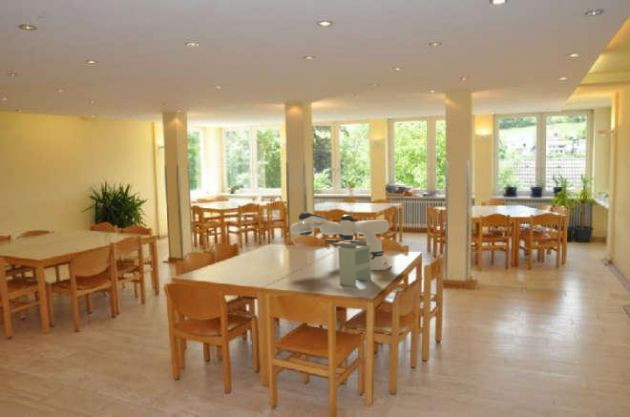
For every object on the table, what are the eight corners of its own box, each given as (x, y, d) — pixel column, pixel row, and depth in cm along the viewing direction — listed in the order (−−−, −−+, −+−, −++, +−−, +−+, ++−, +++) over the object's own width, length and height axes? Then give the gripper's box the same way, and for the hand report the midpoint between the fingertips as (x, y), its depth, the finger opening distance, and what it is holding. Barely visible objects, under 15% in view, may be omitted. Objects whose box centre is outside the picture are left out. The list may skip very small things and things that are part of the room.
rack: (356, 278, 374) (355, 235, 371) (371, 280, 365) (369, 237, 362) (339, 284, 359) (338, 239, 356) (354, 286, 350) (353, 241, 347)
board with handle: (330, 242, 379) (330, 238, 379) (352, 244, 365) (352, 240, 365) (321, 244, 371) (321, 240, 371) (344, 246, 358) (343, 242, 358)
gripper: (315, 229, 402) (328, 227, 393) (297, 230, 387) (309, 227, 378) (314, 222, 403) (327, 219, 394) (295, 222, 388) (308, 219, 379)
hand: (318, 223), depth 386 cm, fingers open, 8 cm apart
